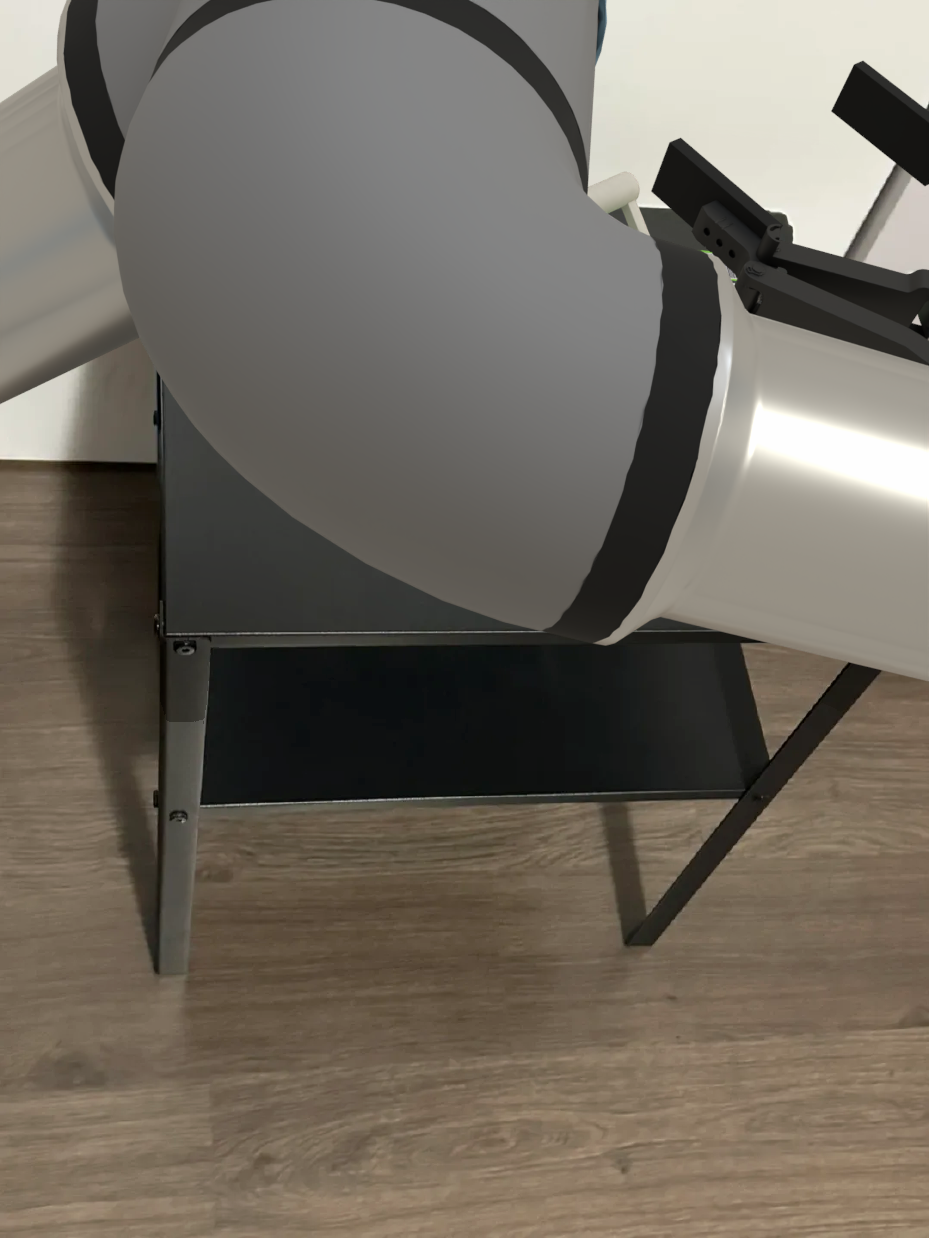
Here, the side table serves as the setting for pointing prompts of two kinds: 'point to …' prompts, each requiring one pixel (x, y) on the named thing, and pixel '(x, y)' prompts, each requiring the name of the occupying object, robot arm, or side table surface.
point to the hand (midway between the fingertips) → (760, 123)
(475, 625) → the side table surface
